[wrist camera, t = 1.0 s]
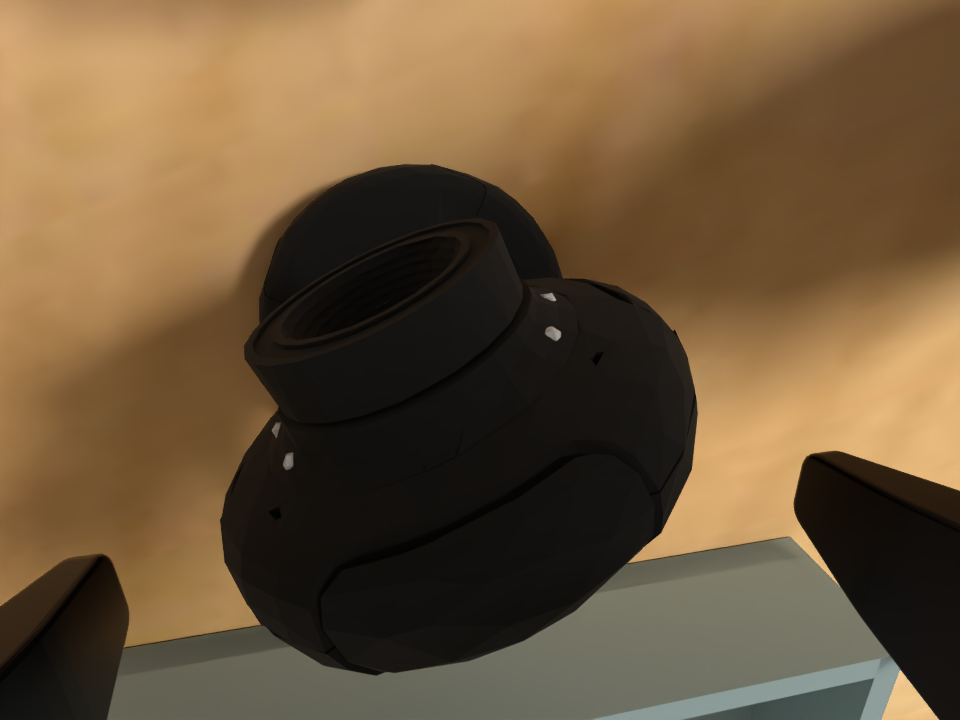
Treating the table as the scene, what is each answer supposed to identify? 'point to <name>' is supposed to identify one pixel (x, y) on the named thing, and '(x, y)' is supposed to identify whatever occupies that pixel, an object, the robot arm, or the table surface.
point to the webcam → (445, 428)
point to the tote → (570, 658)
